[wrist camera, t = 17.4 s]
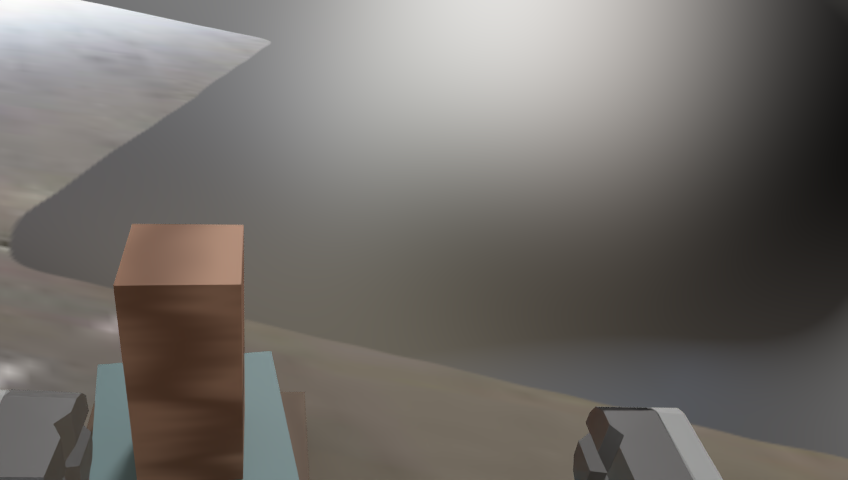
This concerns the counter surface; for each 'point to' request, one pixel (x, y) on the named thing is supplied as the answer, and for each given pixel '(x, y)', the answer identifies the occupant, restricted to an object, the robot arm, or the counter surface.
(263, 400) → the tower top
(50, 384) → the counter surface
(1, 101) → the counter surface
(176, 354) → the terracotta block
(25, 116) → the counter surface
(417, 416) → the counter surface
